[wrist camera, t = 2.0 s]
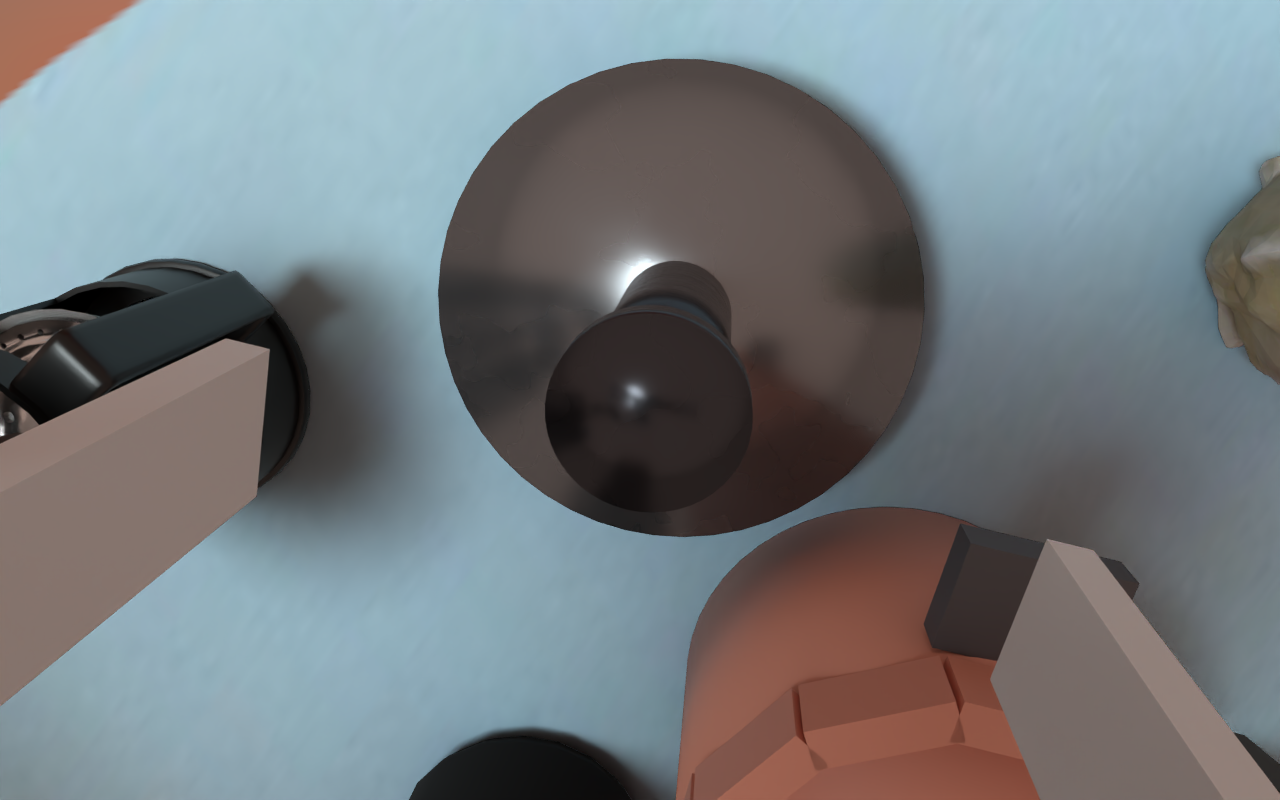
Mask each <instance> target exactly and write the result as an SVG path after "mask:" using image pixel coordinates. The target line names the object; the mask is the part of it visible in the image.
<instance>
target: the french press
mask: <svg viewBox="0 0 1280 800" xmlns="http://www.w3.org/2000/svg"><path fill="white" fill-rule="evenodd" d="M151 297H156V298H154V299H151V300H148V301H145V302H142V303H139V304H136V305H133V304H135V303H137V302H139V301H141V300H143V299H147V298H151ZM131 305H133V306H131ZM129 306H130V307H129ZM223 339H230V340H234V341H239V342H243V343H247V344H251V345H255V346H259V347H263V348H267V349H270V353H269V364H268V375H267V386H266V397H265V409H264V420H263V431H262V442H261V453H260V465H259V476H258V487H257V488H259V487H261V486H262V485H264V484H265V483H266V482H268V481H269V480H270V479H272V478H273V477H274V476H276V475H277V474H278V473H280V472H281V470H282V469H283V468H284V467H285V466H286V465H287V463H288V462H289V461H290V460H291V459H292V457H293V456H294V455H295V453H296V451H297V449H298V447H299V445H300V443H301V441H302V439H303V437H304V433H305V429H306V425H307V421H308V417H309V408H310V388H309V381H308V375H307V369H306V366H305V363H304V360H303V357H302V355H301V352H300V349H299V346H298V344H297V342H296V341H295V339H294V337H293V335H292V334H291V332H290V330H289V328H288V327H287V325H286V323H285V322H284V321H283V319H282V318H281V317H280V316H279V315H278V313H277V312H276V311H275V310H274V308H273V307H272V305H271V304H270V303H269V302H268V301H267V300H266V299H265V298H264V297H263V296H262V295H261V294H260V293H259V292H258V291H257V290H256V289H255V288H254V287H253V286H252V285H251V284H250V283H249V282H248V281H247V280H246V279H245V278H244V277H243V276H242V275H241V274H240V273H239V272H237V271H232V272H229V273H226V272H224V271H221V270H219V269H216V268H213V267H210V266H208V265H205V264H202V263H197V262H192V261H186V260H180V259H159V260H150V261H146V262H142V263H138V264H134V265H130V266H126V267H124V268H122V269H120V270H118V271H117V272H115V273H113V274H111V275H109V276H107V277H105V278H104V279H103V280H101V281H97V282H94V283H90V284H87V285H83V286H80V287H76V288H74V289H72V290H70V291H68V292H66V293H64V294H62V295H60V296H59V297H57V298H55V299H51V300H48V301H44V302H41V303H38V304H34V305H31V306H27V307H24V308H20V309H17V310H14V311H10V312H7V313H3V314H0V436H4V435H8V434H13V433H17V432H19V433H24V432H26V431H29V430H31V429H33V428H35V427H37V426H39V425H41V424H44V423H46V422H48V421H50V420H52V419H54V418H56V417H59V416H61V415H63V414H65V413H67V412H69V411H71V410H74V409H76V408H78V407H80V406H82V405H84V404H86V403H89V402H91V401H93V400H95V399H97V398H99V397H101V396H103V395H106V394H108V393H110V392H112V391H114V390H116V389H118V388H121V387H123V386H125V385H127V384H129V383H131V382H133V381H136V380H138V379H140V378H142V377H144V376H146V375H148V374H151V373H153V372H155V371H157V370H159V369H161V368H163V367H166V366H168V365H170V364H172V363H174V362H176V361H178V360H181V359H183V358H185V357H187V356H189V355H191V354H193V353H196V352H198V351H200V350H202V349H204V348H206V347H208V346H211V345H213V344H215V343H217V342H219V341H221V340H223Z"/></svg>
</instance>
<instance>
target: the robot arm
mask: <svg viewBox="0 0 1280 800" xmlns="http://www.w3.org/2000/svg"><path fill="white" fill-rule="evenodd" d="M269 353H270V349H267V348H263V347H259V346H255V345H251V344H247V343H243V342H239V341H234V340H230V339H223V340H221V341H219V342H217V343H215V344H213V345H211V346H208V347H206V348H204V349H202V350H200V351H198V352H196V353H193V354H191V355H189V356H187V357H185V358H183V359H181V360H178V361H176V362H174V363H172V364H170V365H168V366H166V367H163V368H161V369H159V370H157V371H155V372H153V373H151V374H148V375H146V376H144V377H142V378H140V379H138V380H136V381H133V382H131V383H129V384H127V385H125V386H123V387H121V388H118V389H116V390H114V391H112V392H110V393H108V394H106V395H103V396H101V397H99V398H97V399H95V400H93V401H91V402H89V403H86V404H84V405H82V406H80V407H78V408H76V409H74V410H71V411H69V412H67V413H65V414H63V415H61V416H59V417H56V418H54V419H52V420H50V421H48V422H46V423H44V424H41V425H39V426H37V427H35V428H33V429H31V430H29V431H26V432H24V433H19V432H17V433H13V434H8V435H4V436H0V706H1V705H2V704H4V703H5V702H6V701H7V700H8V699H10V698H11V697H12V696H13V695H15V694H16V693H17V692H18V691H19V690H21V689H22V688H23V687H24V686H26V685H27V684H28V683H29V682H30V681H32V680H33V679H34V678H35V677H37V676H38V675H39V674H40V673H41V672H43V671H44V670H45V669H46V668H47V667H49V666H50V665H51V664H52V663H54V662H55V661H56V660H57V659H58V658H60V657H61V656H62V655H63V654H65V653H66V652H67V651H68V650H69V649H71V648H72V647H73V646H74V645H76V644H77V643H78V642H79V641H80V640H82V639H83V638H84V637H85V636H87V635H88V634H89V633H90V632H91V631H93V630H94V629H95V628H96V627H98V626H99V625H100V624H101V623H102V622H104V621H105V620H106V619H107V618H109V617H110V616H111V615H112V614H113V613H115V612H116V611H117V610H118V609H120V608H121V607H122V606H123V605H124V604H126V603H127V602H128V601H129V600H131V599H132V598H133V597H134V596H135V595H137V594H138V593H139V592H140V591H142V590H143V589H144V588H145V587H146V586H148V585H149V584H150V583H151V582H153V581H154V580H155V579H156V578H157V577H159V576H160V575H161V574H162V573H164V572H165V571H166V570H167V569H168V568H170V567H171V566H172V565H173V564H175V563H176V562H177V561H178V560H179V559H181V558H182V557H183V556H184V555H185V554H187V553H188V552H189V551H190V550H192V549H193V548H194V547H195V546H196V545H198V544H199V543H200V542H201V541H203V540H204V539H205V538H206V537H207V536H209V535H210V534H211V533H212V532H214V531H215V530H216V529H217V528H218V527H220V526H221V525H222V524H223V523H225V522H226V521H227V520H228V519H229V518H231V517H232V516H233V515H234V514H236V513H237V512H238V511H239V510H240V509H242V508H243V507H244V506H245V505H247V504H248V503H249V502H250V501H251V500H253V499H254V498H255V497H256V496H257V487H258V476H259V465H260V453H261V442H262V431H263V420H264V409H265V397H266V386H267V375H268V364H269ZM990 681H991V683H992V685H993V688H994V690H995V693H996V695H997V697H998V700H999V702H1000V705H1001V707H1002V709H1003V712H1004V714H1005V717H1006V719H1007V721H1008V724H1009V726H1010V728H1011V731H1012V733H1013V736H1014V738H1015V740H1016V743H1017V745H1018V748H1019V750H1020V752H1021V755H1022V757H1023V760H1024V762H1025V764H1026V767H1027V769H1028V772H1029V774H1030V776H1031V779H1032V781H1033V783H1034V786H1035V788H1036V791H1037V793H1038V795H1039V798H1040V800H1280V764H1278V763H1277V762H1276V761H1275V760H1274V759H1272V758H1271V757H1270V756H1269V755H1268V754H1266V753H1265V752H1264V751H1263V750H1262V749H1260V748H1259V747H1258V746H1257V745H1256V744H1254V743H1253V742H1252V741H1251V740H1249V739H1248V738H1247V737H1246V736H1245V735H1241V734H1237V733H1233V732H1232V731H1231V729H1230V728H1229V727H1228V725H1227V724H1226V723H1225V721H1224V720H1223V719H1222V717H1221V716H1220V715H1219V714H1218V712H1217V711H1216V710H1215V708H1214V707H1213V706H1212V704H1211V703H1210V702H1209V700H1208V699H1207V698H1206V697H1205V695H1204V694H1203V693H1202V691H1201V690H1200V689H1199V687H1198V686H1197V685H1196V683H1195V682H1194V681H1193V680H1192V678H1191V677H1190V676H1189V674H1188V673H1187V672H1186V670H1185V669H1184V668H1183V666H1182V665H1181V664H1180V663H1179V661H1178V660H1177V659H1176V657H1175V656H1174V655H1173V653H1172V652H1171V651H1170V649H1169V648H1168V647H1167V646H1166V644H1165V643H1164V642H1163V640H1162V639H1161V638H1160V636H1159V635H1158V634H1157V632H1156V631H1155V630H1154V629H1153V627H1152V626H1151V625H1150V623H1149V622H1148V621H1147V619H1146V618H1145V617H1144V615H1143V614H1142V613H1141V612H1140V610H1139V609H1138V608H1137V606H1136V605H1135V604H1134V602H1133V601H1132V600H1131V598H1130V597H1129V596H1128V595H1127V593H1126V592H1125V591H1124V589H1123V588H1122V587H1121V585H1120V584H1119V583H1118V581H1117V580H1116V579H1115V578H1114V576H1113V575H1112V574H1111V572H1110V571H1109V570H1108V568H1107V567H1106V566H1105V564H1104V563H1103V562H1102V561H1101V559H1100V558H1099V557H1098V555H1097V554H1096V553H1095V551H1094V550H1091V549H1087V548H1083V547H1079V546H1074V545H1070V544H1066V543H1062V542H1058V541H1054V540H1050V539H1047V540H1046V542H1045V545H1044V547H1043V549H1042V552H1041V554H1040V557H1039V559H1038V562H1037V564H1036V567H1035V569H1034V572H1033V574H1032V577H1031V579H1030V582H1029V584H1028V586H1027V589H1026V591H1025V594H1024V596H1023V599H1022V601H1021V604H1020V606H1019V609H1018V611H1017V614H1016V616H1015V619H1014V621H1013V624H1012V626H1011V628H1010V631H1009V633H1008V636H1007V638H1006V641H1005V643H1004V646H1003V648H1002V651H1001V653H1000V656H999V658H998V661H997V663H996V665H995V668H994V670H993V673H992V675H991V678H990Z"/></svg>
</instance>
